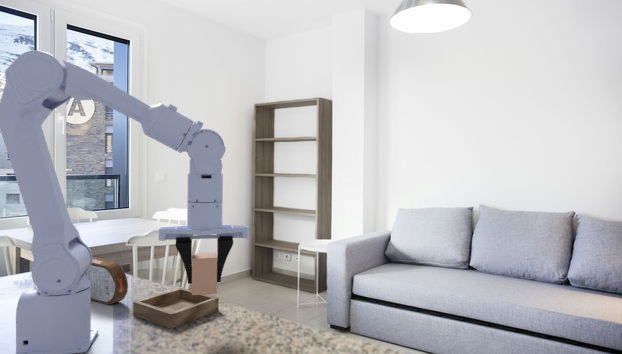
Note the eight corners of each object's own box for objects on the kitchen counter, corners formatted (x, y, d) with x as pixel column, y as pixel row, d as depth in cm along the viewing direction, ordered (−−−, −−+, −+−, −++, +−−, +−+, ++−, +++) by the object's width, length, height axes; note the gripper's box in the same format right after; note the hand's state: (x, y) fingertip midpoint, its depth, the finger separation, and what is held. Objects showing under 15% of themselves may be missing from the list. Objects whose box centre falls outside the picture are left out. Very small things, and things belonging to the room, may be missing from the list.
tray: (171, 328, 72) (171, 314, 72) (133, 315, 79) (133, 301, 78) (218, 310, 82) (218, 297, 82) (180, 299, 88) (181, 287, 88)
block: (191, 295, 69) (192, 258, 69) (192, 288, 73) (192, 253, 73) (216, 293, 70) (217, 257, 70) (215, 286, 74) (216, 252, 74)
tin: (129, 304, 84) (129, 262, 84) (115, 309, 82) (115, 266, 81) (83, 292, 92) (83, 253, 91) (69, 295, 89) (69, 256, 89)
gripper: (156, 203, 65) (156, 290, 66) (251, 203, 69) (249, 285, 69) (161, 199, 72) (160, 278, 72) (246, 199, 76) (245, 274, 76)
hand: (204, 281), depth 71 cm, fingers closed on block, 4 cm apart
